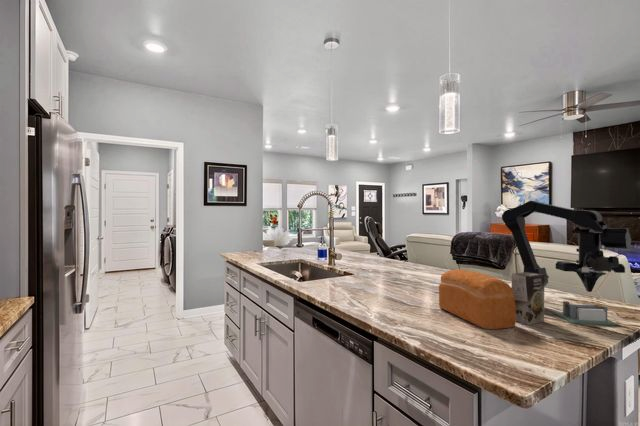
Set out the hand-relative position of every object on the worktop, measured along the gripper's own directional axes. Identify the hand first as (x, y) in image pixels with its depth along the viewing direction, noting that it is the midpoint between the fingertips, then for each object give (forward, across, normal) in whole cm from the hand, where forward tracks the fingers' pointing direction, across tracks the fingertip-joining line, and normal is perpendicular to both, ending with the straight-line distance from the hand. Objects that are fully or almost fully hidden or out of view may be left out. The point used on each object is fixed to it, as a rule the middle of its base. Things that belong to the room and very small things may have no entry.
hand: (589, 291), depth 113 cm
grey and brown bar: (+6, -2, 0) cm, 6 cm away
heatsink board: (+10, -2, 0) cm, 10 cm away
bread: (+10, -38, -2) cm, 40 cm away
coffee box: (+10, -22, -4) cm, 24 cm away
